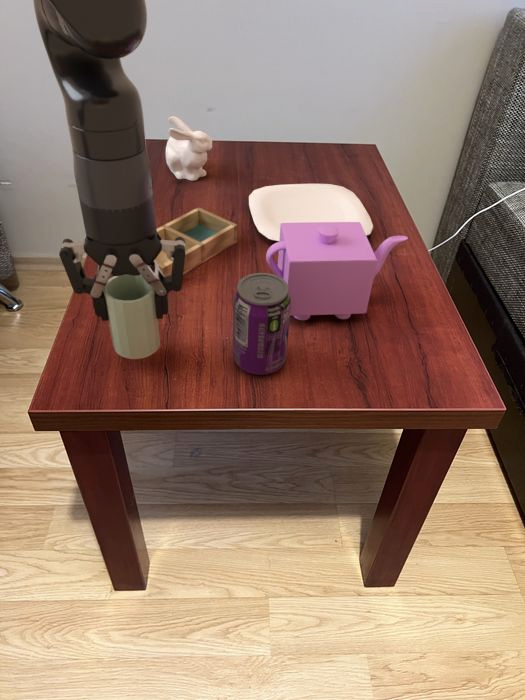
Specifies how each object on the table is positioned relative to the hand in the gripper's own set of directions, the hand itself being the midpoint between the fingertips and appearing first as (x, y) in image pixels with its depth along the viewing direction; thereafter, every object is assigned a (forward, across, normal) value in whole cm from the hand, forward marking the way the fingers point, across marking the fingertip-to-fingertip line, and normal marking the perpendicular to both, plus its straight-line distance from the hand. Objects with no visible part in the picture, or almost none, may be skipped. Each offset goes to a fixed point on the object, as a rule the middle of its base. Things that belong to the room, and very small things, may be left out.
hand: (133, 315), depth 67 cm
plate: (+7, +30, +36) cm, 47 cm away
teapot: (+7, +28, +10) cm, 31 cm away
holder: (+7, +6, +25) cm, 27 cm away
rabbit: (+7, +8, +55) cm, 56 cm away
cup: (+5, 0, 0) cm, 5 cm away
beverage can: (+7, +16, -2) cm, 18 cm away
